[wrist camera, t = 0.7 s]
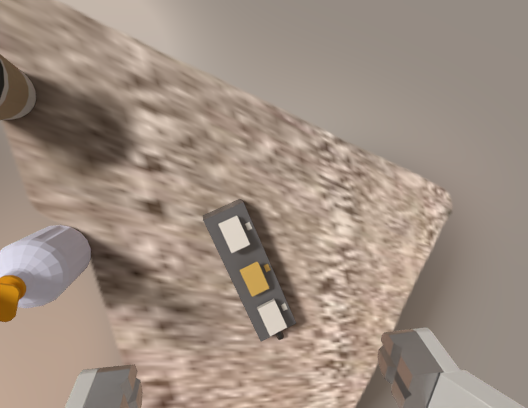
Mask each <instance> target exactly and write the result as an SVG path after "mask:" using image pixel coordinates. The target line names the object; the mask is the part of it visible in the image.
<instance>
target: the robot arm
mask: <svg viewBox="0 0 528 408" xmlns="http://www.w3.org/2000/svg"><path fill="white" fill-rule="evenodd" d="M381 342H382V343H383V346H382V347H381V348H380V349H379V351H378V362H379V367H380V370H381V372H382V374H383V377H384V379H385V380H387V381H388V382H389V383H391V384H392V390H391V393H392V395H393V396H394V399H395V400H396V402H397V405H398V407H399V408H525V407H524V406H522V405H520V404H519V403H517V402H516V401H514V400H512V399H511V398H509V397H508V396H506V395H504V394H503V393H501V392H500V391H498V390H496V389H495V388H493V387H492V386H490V385H489V384H487V383H485V382H484V381H482V380H481V379H479V378H477V377H476V376H474V375H473V374H471V373H469V372H468V371H466V370H460V369H459V367H458V366H457V365H456V363H455V362H454V361H453V359H452V358H451V357H450V355H449V354H448V353H447V352H446V350H445V349H444V347H443V346H442V345H441V343H440V342H439V341H438V340H437V338H436V337H435V335H434V334H433V333H432V332H431V330H430V329H428V328H427V327H426V328H417V329H407V330H400V331H393V332H386V333H384V334H383V335H382V337H381ZM136 376H137V368H136V366H135V364H134V365H124V366H114V367H105V368H95V369H87V370H82V372H81V373H80V374H79V375H78V377H77V380H76V382H75V385H74V387H73V389H72V392H71V394H70V396H69V399H68V401H67V403H66V406H65V408H141V405H142V393H143V392H142V384H141V381H140V380H139V379H137V378H136Z"/></svg>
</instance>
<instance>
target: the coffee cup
mask: <svg viewBox="0 0 528 408" xmlns="http://www.w3.org/2000/svg"><path fill="white" fill-rule="evenodd" d="M35 102H36V91H35V88H34V86H33V84H32V82H31V81H30V79H29V78H28V77H27V76H26V74H24V73H23V72H22V71H21V70H19V69H18V68H17V67H16V66H14V65H13V64H12V63H10V62H9V61H8V60H7V59H5V58H4V57H3V56H2V55H0V120H12V119H17V118H21V117H23V116H25V115H26V114H28V113H29V112H30V111H31V110H32V109H33V107H34V105H35Z"/></svg>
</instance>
